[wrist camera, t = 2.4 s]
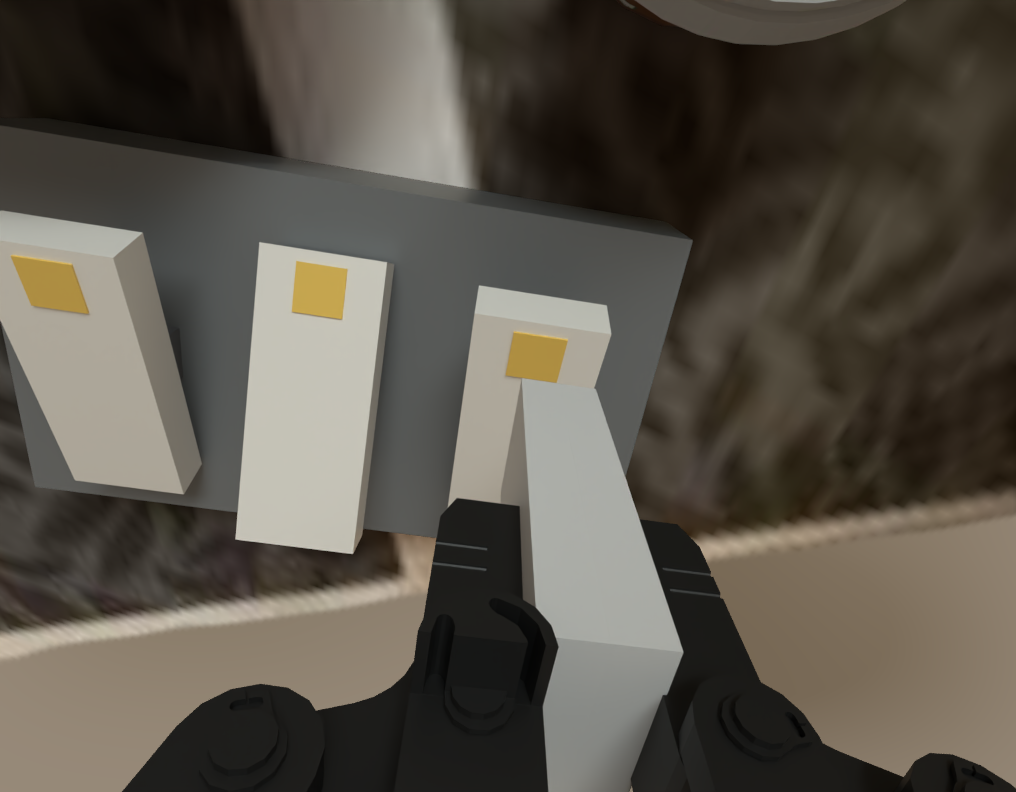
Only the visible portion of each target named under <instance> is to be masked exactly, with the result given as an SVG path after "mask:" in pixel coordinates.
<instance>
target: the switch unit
mask: <svg viewBox="0 0 1016 792" xmlns="http://www.w3.org/2000/svg"><path fill="white" fill-rule="evenodd" d="M1 210H2V211H8V212H15V213H21V214H27V215H34V216H40V217H47V218H53V219H59V220H66V221H72V222H78V223H85V224H91V225H98V226H104V227H110V228H117V229H123V230H129V231H136V232H142V233H143V235H144V239H145V243H146V247H147V251H148V255H149V259H150V263H151V267H152V271H153V275H154V278H155V282H156V286H157V290H158V294H159V298H160V302H161V306H162V310H163V314H164V318H165V321H166V325H167V329H168V333H169V337H170V341H171V345H172V349H173V353H174V357H175V360H176V364H177V368H178V372H179V376H180V380H181V384H182V388H183V392H184V396H185V400H186V403H187V407H188V411H189V415H190V419H191V423H192V427H193V431H194V435H195V439H196V443H197V446H198V450H199V454H200V458H201V462H202V465H201V466H200V468H199V470H198V471H197V473H196V475H195V476H194V478H193V480H192V481H191V483H190V485H189V487H188V488H187V490H186V492H185V493H184V494H176V493H169V492H161V491H153V490H145V489H138V488H130V487H122V486H114V485H107V484H99V483H91V482H84V481H76V480H75V479H74V477H73V475H72V473H71V471H70V469H69V466H68V464H67V462H66V460H65V458H64V456H63V454H62V451H61V449H60V447H59V445H58V443H57V441H56V439H55V436H54V434H53V432H52V430H51V428H50V426H49V424H48V421H47V419H46V417H45V415H44V413H43V411H42V409H41V406H40V404H39V402H38V400H37V398H36V396H35V394H34V391H33V389H32V387H31V385H30V383H29V381H28V379H27V376H26V374H25V372H24V370H23V368H22V366H21V364H20V361H19V359H18V357H17V355H16V353H15V351H14V349H13V346H12V344H11V342H10V340H9V338H8V336H7V334H6V331H5V329H4V327H3V325H2V323H1V326H2V330H3V335H4V340H5V345H6V350H7V354H8V359H9V364H10V369H11V374H12V378H13V383H14V388H15V393H16V398H17V402H18V407H19V412H20V417H21V422H22V426H23V431H24V436H25V441H26V446H27V450H28V455H29V460H30V465H31V470H32V474H33V479H34V484H35V487H42V488H50V489H58V490H65V491H73V492H81V493H89V494H97V495H104V496H112V497H120V498H128V499H136V500H143V501H151V502H159V503H167V504H175V505H183V506H190V507H198V508H206V509H214V510H222V511H229V512H237V513H238V502H239V490H240V477H241V465H242V452H243V440H244V427H245V415H246V403H247V390H248V378H249V365H250V353H251V341H252V328H253V316H254V303H255V291H256V278H257V266H258V254H259V242H262V243H268V244H274V245H281V246H287V247H293V248H300V249H306V250H312V251H319V252H325V253H331V254H338V255H344V256H350V257H357V258H363V259H369V260H376V261H382V262H388V263H392V264H394V272H393V280H392V288H391V297H390V305H389V314H388V322H387V330H386V339H385V347H384V356H383V364H382V372H381V381H380V389H379V398H378V406H377V415H376V423H375V431H374V440H373V448H372V457H371V465H370V473H369V482H368V490H367V499H366V507H365V515H364V524H363V529H370V530H378V531H386V532H393V533H401V534H409V535H417V536H425V537H432V538H437V533H438V527H439V521H440V516H441V515H442V514H443V513H444V512H445V510H446V509H447V508H448V502H449V494H450V487H451V480H452V473H453V465H454V458H455V451H456V444H457V437H458V429H459V422H460V415H461V408H462V400H463V393H464V386H465V379H466V371H467V364H468V357H469V350H470V343H471V335H472V328H473V321H474V314H475V307H476V301H477V295H478V288H479V285H480V286H486V287H493V288H499V289H506V290H512V291H518V292H525V293H531V294H537V295H544V296H550V297H557V298H563V299H569V300H576V301H582V302H588V303H595V304H601V305H607V310H608V316H609V323H610V329H611V337H610V340H609V343H608V347H607V350H606V353H605V356H604V359H603V362H602V365H601V368H600V372H599V375H598V378H597V381H596V384H595V387H594V389H596V391H597V394H598V397H599V400H600V403H601V406H602V409H603V412H604V415H605V418H606V421H607V424H608V427H609V430H610V433H611V436H612V439H613V442H614V445H615V448H616V451H617V454H618V457H619V460H620V463H621V466H622V469H623V472H624V475H625V476H626V473H627V469H628V466H629V462H630V459H631V455H632V452H633V448H634V445H635V441H636V438H637V434H638V431H639V427H640V424H641V420H642V417H643V413H644V410H645V406H646V403H647V399H648V396H649V392H650V389H651V385H652V382H653V378H654V375H655V371H656V368H657V364H658V361H659V357H660V354H661V350H662V347H663V343H664V340H665V336H666V333H667V329H668V326H669V322H670V319H671V315H672V312H673V308H674V305H675V301H676V298H677V294H678V291H679V288H680V284H681V281H682V277H683V274H684V270H685V267H686V263H687V260H688V256H689V253H690V249H691V246H692V242H693V240H692V239H690V238H689V237H687V236H686V235H685V234H683V233H682V232H680V231H679V230H677V229H676V228H674V227H673V226H671V225H670V224H668V223H667V222H665V221H659V220H653V219H647V218H641V217H635V216H629V215H623V214H617V213H611V212H605V211H599V210H593V209H587V208H581V207H575V206H569V205H564V204H558V203H552V202H546V201H540V200H534V199H528V198H522V197H516V196H510V195H504V194H498V193H492V192H486V191H480V190H474V189H468V188H462V187H456V186H450V185H444V184H438V183H432V182H426V181H420V180H414V179H408V178H402V177H396V176H390V175H384V174H378V173H372V172H366V171H361V170H355V169H349V168H343V167H337V166H331V165H325V164H319V163H313V162H307V161H301V160H295V159H289V158H283V157H277V156H271V155H265V154H259V153H253V152H247V151H241V150H235V149H229V148H223V147H217V146H211V145H205V144H199V143H193V142H187V141H181V140H175V139H169V138H164V137H158V136H152V135H146V134H140V133H134V132H128V131H122V130H116V129H110V128H104V127H98V126H92V125H86V124H80V123H74V122H68V121H62V120H56V119H50V118H0V211H1Z"/></svg>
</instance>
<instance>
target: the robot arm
mask: <svg viewBox="0 0 1016 792" xmlns="http://www.w3.org/2000/svg"><path fill="white" fill-rule="evenodd" d="M710 574H711V571H710V569H709V567H708V565H707V563H706V560H705V558H704V556H703V554H702V551H701V549H700V547H699V546H698V545H697V544H696V543H695V542H694V541H693V540H692V539H691V538H690V537H689V536H688V535H687V534H686V533H685V532H684V531H683V530H682V529H681V528H680V527H679V526H678V525H677V524H670V523H662V522H655V521H647V520H640V519H639V517H638V514H637V511H636V508H635V505H634V502H633V499H632V496H631V493H630V490H629V487H628V484H627V481H626V478H625V475H624V472H623V469H622V466H621V463H620V460H619V457H618V454H617V451H616V448H615V445H614V442H613V439H612V436H611V433H610V430H609V427H608V424H607V421H606V418H605V415H604V412H603V409H602V406H601V403H600V400H599V397H598V394H597V391H596V389H592V388H586V387H579V386H572V385H565V384H558V383H551V382H544V381H538V380H531V379H524V378H522V379H521V384H520V390H519V395H518V401H517V406H516V411H515V417H514V422H513V428H512V433H511V439H510V444H509V449H508V455H507V460H506V466H505V471H504V477H503V482H502V488H501V504H500V503H493V502H485V501H477V500H470V499H462V498H456V499H455V500H454V502H453V503H452V504H451V505H450V506H449V507H448V508H447V509H446V510H445V512H444V513H443V514H442V515H441V516H440V521H439V527H438V533H437V539H436V545H435V551H434V557H433V564H432V570H431V576H430V582H429V588H428V594H427V600H426V606H425V613H424V618H423V621H422V623H421V625H420V627H419V630H418V635H417V642H416V650H415V658H414V662H413V663H412V665H411V667H410V668H409V669H408V671H407V672H406V674H405V675H404V676H403V677H402V678H401V679H400V680H399V681H398V682H396V683H395V684H394V685H393V686H392V687H391V688H389V689H387V690H386V691H384V692H382V693H380V694H378V695H376V696H375V697H372V698H369V699H366V700H362V701H360V702H356V703H352V704H347V705H343V706H337V707H332V708H328V709H322V710H318V711H315V709H314V707H313V706H312V704H311V703H310V701H309V700H308V699H306V698H304V697H303V696H301V695H299V694H297V693H296V692H294V691H292V690H291V689H289V688H286V687H279V686H271V685H264V684H258V685H252V686H247V687H241V688H236V689H231V690H229V691H227V692H224V693H223V694H221V695H219V696H217V697H214V698H212V699H210V700H208V701H206V702H204V703H202V704H201V705H200V706H199V707H197V708H196V709H195V710H194V711H193V712H192V713H191V714H190V715H189V716H187V717H186V718H185V719H184V720H183V721H182V722H181V723H180V724H179V725H177V726H176V728H175V729H174V730H173V731H172V733H171V734H170V735H169V736H168V737H167V738H166V740H165V741H164V742H163V743H162V745H161V746H160V747H159V748H158V749H157V750H156V752H155V753H154V754H153V755H152V757H151V758H150V759H149V760H148V761H147V762H146V764H145V765H144V766H143V768H141V770H140V771H139V772H138V773H137V774H136V776H135V777H134V778H133V779H132V780H131V782H130V783H129V784H128V785H127V787H126V788H125V789H124V790H123V791H122V792H629V791H630V789H631V786H632V788H633V792H1016V788H1014V787H1013V786H1012V785H1011V784H1009V783H1008V782H1006V781H1005V780H1003V779H1002V778H1000V777H998V776H997V775H995V774H993V773H992V772H990V771H988V770H987V769H986V768H984V767H982V766H981V765H978V764H976V763H973V762H970V761H968V760H965V759H962V758H960V757H957V756H955V755H950V754H935V753H929V754H927V755H925V756H924V757H922V758H920V759H918V760H916V761H915V762H914V763H913V765H912V766H911V768H910V769H909V771H908V772H907V773H906V775H905V776H904V777H902V776H899V775H897V774H894V773H892V772H889V771H887V770H884V769H882V768H879V767H877V766H874V765H872V764H869V763H867V762H864V761H862V760H859V759H857V758H854V757H851V756H849V755H847V754H844V753H842V752H839V751H837V750H835V749H833V748H831V747H829V746H827V745H825V744H823V743H822V741H821V739H820V737H819V736H818V734H817V733H816V732H815V730H814V728H813V727H812V726H811V724H810V723H809V721H808V720H807V718H806V717H805V715H804V714H803V713H802V712H801V711H800V710H799V709H798V708H797V707H795V706H794V705H793V704H792V703H791V702H790V701H789V700H788V699H787V698H785V697H784V696H783V695H782V694H780V693H779V692H777V691H775V690H773V689H772V688H770V687H768V686H766V685H764V684H763V683H761V682H760V680H759V677H758V675H757V673H756V671H755V669H754V666H753V664H752V662H751V660H750V658H749V655H748V653H747V651H746V649H745V647H744V644H743V642H742V640H741V638H740V636H739V633H738V631H737V629H736V627H735V625H734V622H733V620H732V618H731V616H730V613H729V611H728V609H727V607H726V604H725V602H724V600H723V599H721V598H720V591H719V589H718V587H717V585H716V582H715V580H714V578H713V577H711V576H710Z"/></svg>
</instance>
